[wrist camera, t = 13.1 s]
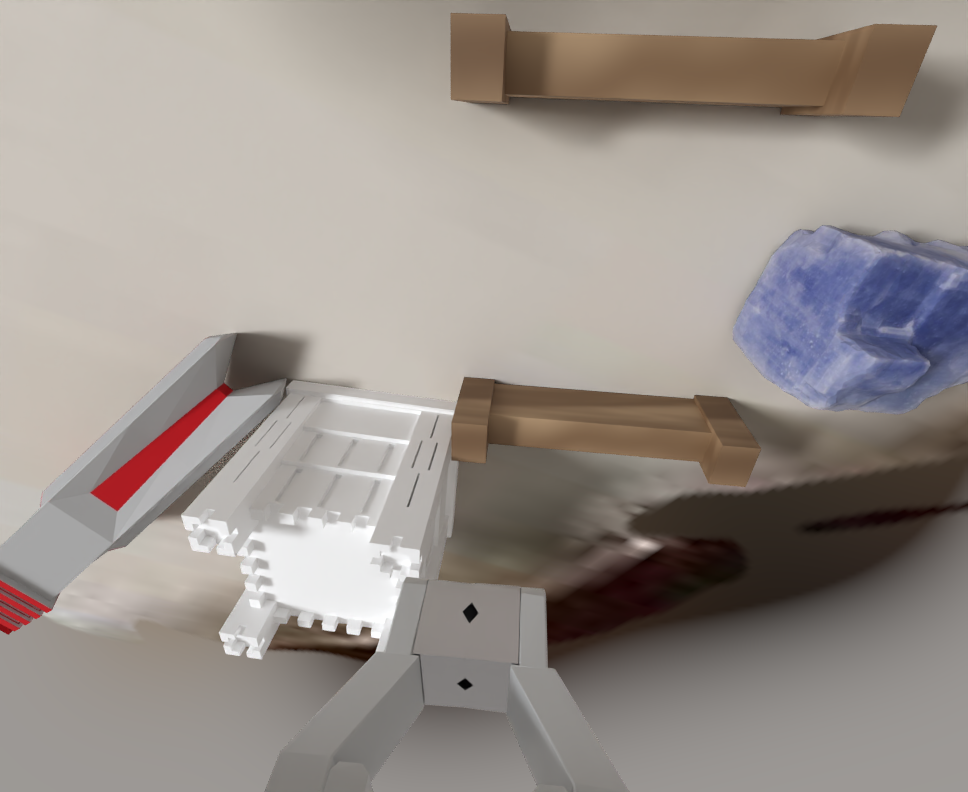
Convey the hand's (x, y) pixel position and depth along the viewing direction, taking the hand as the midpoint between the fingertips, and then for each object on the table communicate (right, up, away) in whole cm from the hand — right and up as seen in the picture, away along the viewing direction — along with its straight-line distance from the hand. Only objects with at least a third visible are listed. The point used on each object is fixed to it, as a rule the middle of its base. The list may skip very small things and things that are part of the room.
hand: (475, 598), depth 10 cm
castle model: (-9, -1, +32) cm, 34 cm away
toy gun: (-28, +1, +34) cm, 44 cm away
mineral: (+25, +11, +21) cm, 34 cm away
